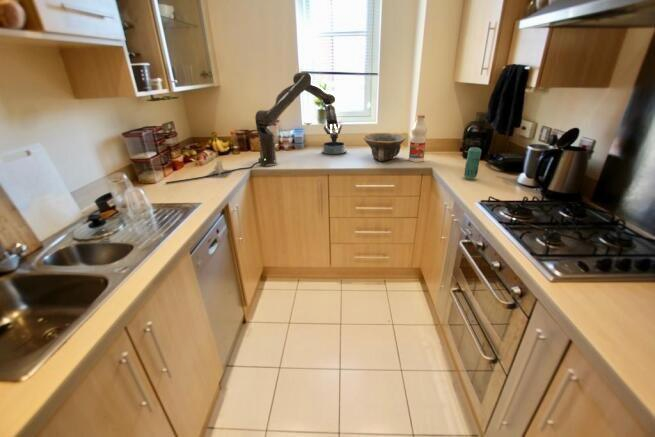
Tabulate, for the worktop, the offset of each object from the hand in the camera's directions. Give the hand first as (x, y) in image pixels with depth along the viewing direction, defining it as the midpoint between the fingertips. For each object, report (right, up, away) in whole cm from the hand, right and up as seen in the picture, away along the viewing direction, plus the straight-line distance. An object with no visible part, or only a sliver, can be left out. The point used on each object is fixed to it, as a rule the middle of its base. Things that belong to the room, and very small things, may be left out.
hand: (334, 138), depth 224 cm
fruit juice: (+53, -20, -19) cm, 60 cm away
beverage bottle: (+71, -36, -56) cm, 98 cm away
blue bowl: (0, -9, +6) cm, 11 cm away
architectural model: (-69, -31, -37) cm, 84 cm away
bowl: (+32, -18, -14) cm, 40 cm away
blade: (0, -3, +4) cm, 5 cm away
